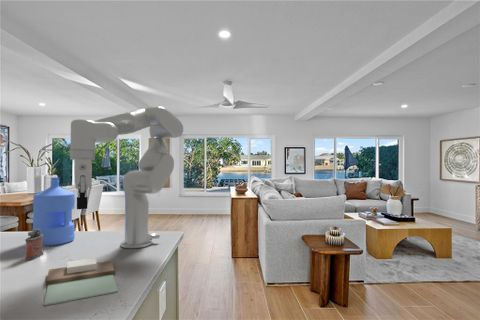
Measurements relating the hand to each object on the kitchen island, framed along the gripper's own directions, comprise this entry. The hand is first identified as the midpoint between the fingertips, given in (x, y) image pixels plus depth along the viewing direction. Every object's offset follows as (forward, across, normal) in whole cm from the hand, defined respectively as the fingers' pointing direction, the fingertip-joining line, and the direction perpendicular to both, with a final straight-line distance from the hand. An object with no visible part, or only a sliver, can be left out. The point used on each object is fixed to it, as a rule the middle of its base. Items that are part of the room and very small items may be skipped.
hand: (82, 208), depth 102 cm
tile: (+17, -10, 0) cm, 19 cm away
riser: (+19, -11, 0) cm, 22 cm away
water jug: (+19, +37, +10) cm, 43 cm away
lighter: (+19, +16, +15) cm, 29 cm away
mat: (+19, -23, 0) cm, 30 cm away
